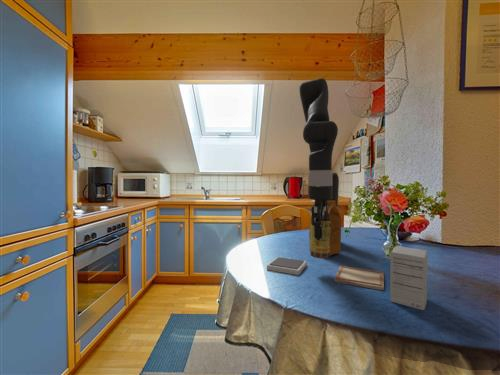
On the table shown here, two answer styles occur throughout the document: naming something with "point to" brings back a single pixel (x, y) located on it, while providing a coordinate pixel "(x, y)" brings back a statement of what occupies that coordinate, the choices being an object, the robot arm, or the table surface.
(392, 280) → the supplement box
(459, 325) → the table surface
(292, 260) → the ink pad
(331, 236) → the coffee package
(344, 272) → the marked board
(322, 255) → the sauce bottle
